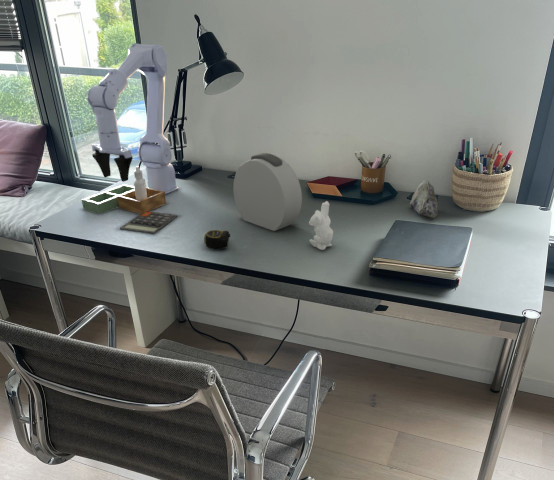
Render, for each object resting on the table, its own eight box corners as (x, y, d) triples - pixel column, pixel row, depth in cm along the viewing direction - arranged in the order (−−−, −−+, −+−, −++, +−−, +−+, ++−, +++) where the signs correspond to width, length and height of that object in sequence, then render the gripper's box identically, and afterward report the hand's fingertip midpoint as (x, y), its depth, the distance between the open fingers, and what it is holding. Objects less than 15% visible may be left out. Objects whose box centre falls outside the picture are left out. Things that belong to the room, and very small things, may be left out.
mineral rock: (433, 224, 169) (438, 191, 163) (398, 217, 173) (403, 185, 168) (445, 210, 178) (450, 178, 172) (412, 205, 183) (416, 173, 177)
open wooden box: (144, 198, 188) (142, 186, 186) (166, 203, 184) (164, 191, 181) (119, 208, 181) (117, 195, 178) (141, 214, 176) (139, 201, 174)
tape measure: (228, 251, 153) (227, 238, 151) (203, 251, 153) (202, 238, 151) (230, 241, 159) (230, 229, 157) (206, 241, 159) (205, 228, 157)
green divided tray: (125, 193, 192) (124, 184, 190) (142, 197, 189) (140, 188, 187) (83, 209, 180) (81, 199, 178) (100, 214, 176) (98, 204, 174)
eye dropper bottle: (153, 202, 183) (148, 165, 176) (142, 208, 179) (136, 170, 172) (142, 200, 185) (137, 163, 178) (131, 206, 181) (125, 168, 174)
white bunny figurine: (316, 239, 160) (317, 197, 153) (338, 243, 158) (341, 201, 151) (304, 250, 154) (305, 207, 147) (327, 254, 151) (329, 211, 144)
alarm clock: (301, 227, 167) (303, 159, 155) (284, 234, 163) (285, 164, 151) (251, 210, 179) (249, 145, 167) (234, 216, 174) (231, 150, 163)
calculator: (178, 214, 174) (154, 232, 163) (178, 217, 175) (154, 235, 164) (144, 210, 178) (119, 227, 166) (145, 213, 178) (119, 230, 167)
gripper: (80, 131, 164) (89, 177, 172) (115, 137, 158) (123, 186, 166) (98, 126, 169) (106, 172, 177) (133, 132, 163) (140, 179, 171)
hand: (116, 178), depth 172 cm, fingers open, 7 cm apart
